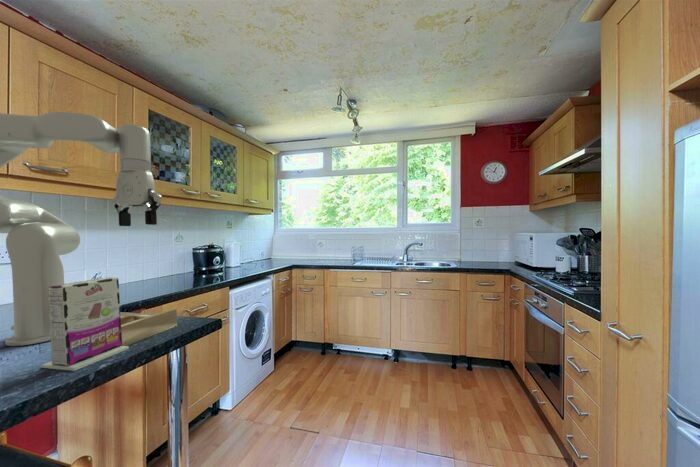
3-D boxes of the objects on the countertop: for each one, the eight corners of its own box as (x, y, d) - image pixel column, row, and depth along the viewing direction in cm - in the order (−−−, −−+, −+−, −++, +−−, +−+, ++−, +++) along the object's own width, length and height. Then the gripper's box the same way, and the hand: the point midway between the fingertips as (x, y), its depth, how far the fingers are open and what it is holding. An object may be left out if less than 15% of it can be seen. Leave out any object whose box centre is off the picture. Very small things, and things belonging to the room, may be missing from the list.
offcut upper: (117, 328, 76) (117, 318, 76) (111, 324, 79) (111, 315, 79) (134, 324, 78) (133, 315, 78) (127, 320, 82) (127, 312, 82)
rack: (74, 344, 72) (73, 324, 72) (135, 324, 88) (135, 308, 88) (122, 347, 69) (121, 326, 69) (177, 325, 84) (176, 309, 84)
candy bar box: (106, 344, 69) (104, 277, 69) (122, 345, 68) (120, 277, 68) (49, 365, 58) (46, 285, 58) (67, 367, 57) (64, 285, 57)
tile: (41, 367, 59) (41, 364, 59) (99, 346, 70) (99, 344, 70) (74, 370, 57) (74, 367, 57) (128, 348, 68) (128, 346, 68)
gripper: (100, 168, 84) (102, 226, 84) (147, 162, 80) (150, 223, 80) (125, 173, 91) (127, 226, 91) (170, 168, 87) (172, 224, 87)
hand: (138, 225), depth 85 cm, fingers open, 9 cm apart
